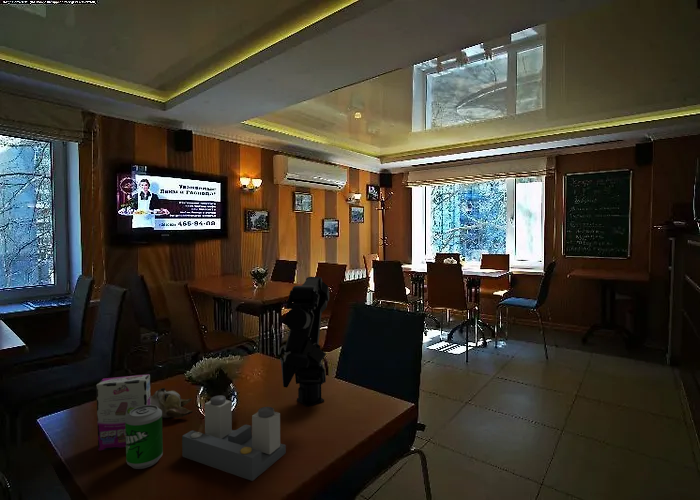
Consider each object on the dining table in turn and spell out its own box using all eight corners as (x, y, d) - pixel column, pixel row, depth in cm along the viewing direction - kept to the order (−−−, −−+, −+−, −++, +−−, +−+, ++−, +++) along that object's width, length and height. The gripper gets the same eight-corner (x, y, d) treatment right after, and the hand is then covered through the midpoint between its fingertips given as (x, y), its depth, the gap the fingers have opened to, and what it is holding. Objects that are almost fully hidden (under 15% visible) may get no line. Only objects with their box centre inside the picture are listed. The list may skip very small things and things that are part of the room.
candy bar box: (152, 435, 103) (151, 373, 102) (147, 445, 98) (146, 380, 97) (103, 441, 100) (102, 377, 99) (97, 451, 95) (95, 384, 95)
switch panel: (219, 433, 104) (219, 413, 103) (285, 453, 94) (285, 431, 94) (182, 456, 93) (182, 434, 93) (252, 481, 84) (252, 456, 83)
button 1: (217, 428, 102) (216, 393, 102) (231, 432, 100) (231, 397, 99) (205, 435, 98) (204, 399, 98) (220, 439, 96) (219, 403, 96)
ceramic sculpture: (137, 384, 115) (192, 379, 121) (136, 413, 115) (191, 407, 121) (133, 398, 105) (193, 392, 111) (132, 430, 106) (192, 422, 112)
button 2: (263, 441, 95) (263, 404, 95) (280, 446, 93) (279, 408, 93) (252, 449, 92) (251, 411, 91) (269, 454, 90) (269, 415, 89)
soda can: (154, 449, 96) (153, 400, 96) (168, 460, 91) (168, 409, 91) (120, 462, 90) (119, 411, 90) (134, 475, 86) (133, 421, 85)
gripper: (334, 340, 103) (319, 401, 100) (321, 334, 121) (308, 385, 118) (293, 330, 101) (276, 392, 98) (286, 325, 119) (271, 378, 116)
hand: (285, 387), depth 108 cm, fingers closed
